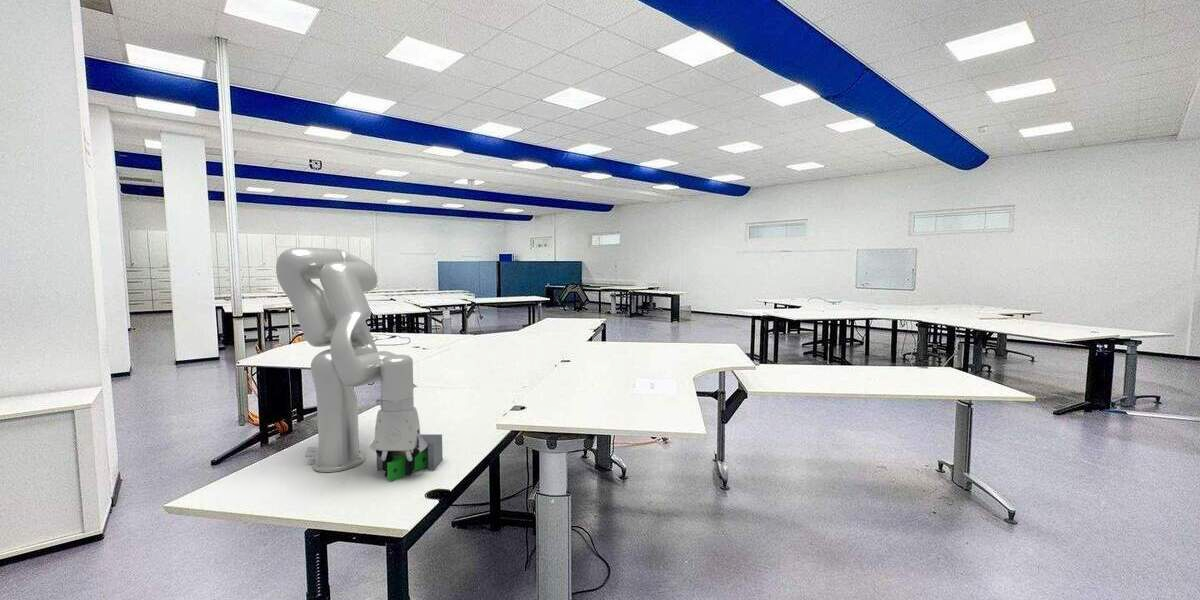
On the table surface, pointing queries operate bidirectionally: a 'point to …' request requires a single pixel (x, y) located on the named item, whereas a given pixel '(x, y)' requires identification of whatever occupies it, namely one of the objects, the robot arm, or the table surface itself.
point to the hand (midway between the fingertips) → (399, 473)
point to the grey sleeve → (433, 448)
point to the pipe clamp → (399, 467)
